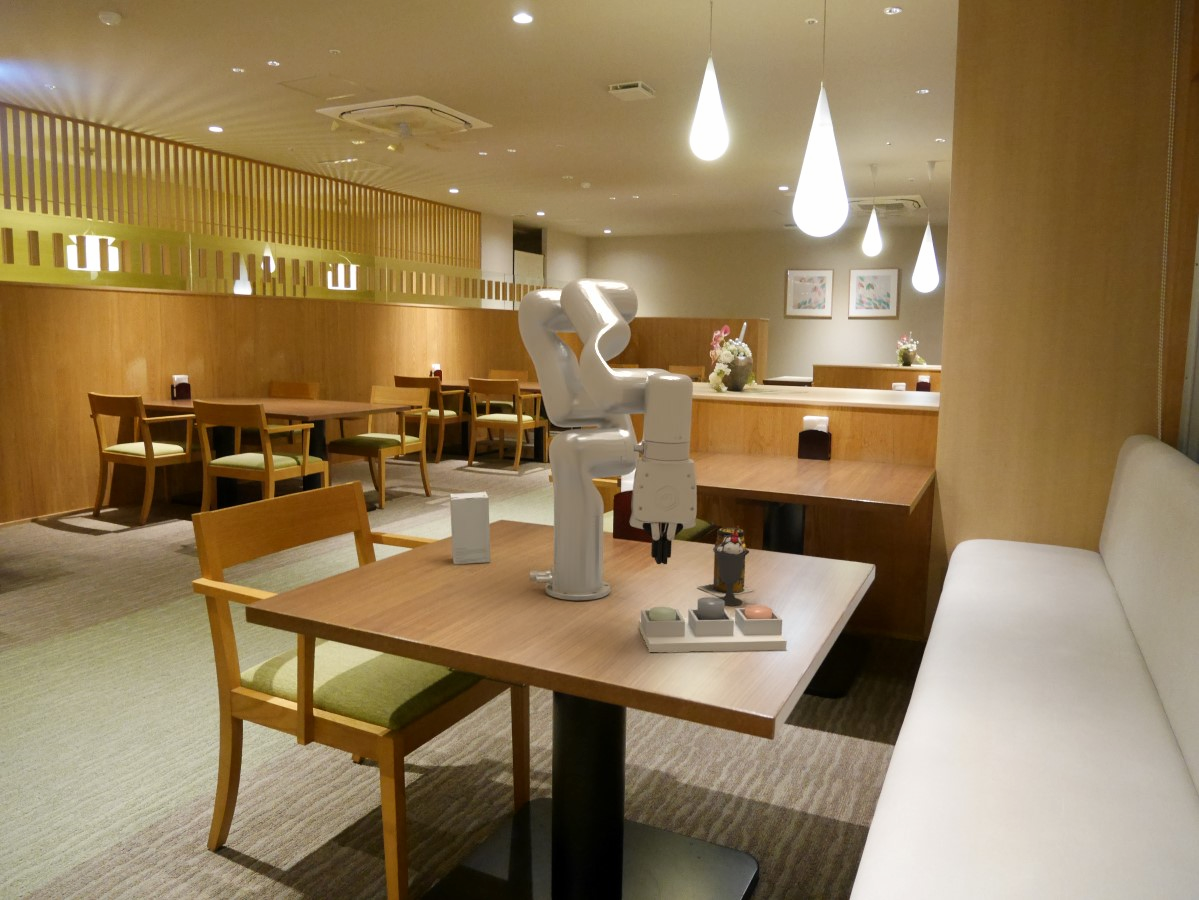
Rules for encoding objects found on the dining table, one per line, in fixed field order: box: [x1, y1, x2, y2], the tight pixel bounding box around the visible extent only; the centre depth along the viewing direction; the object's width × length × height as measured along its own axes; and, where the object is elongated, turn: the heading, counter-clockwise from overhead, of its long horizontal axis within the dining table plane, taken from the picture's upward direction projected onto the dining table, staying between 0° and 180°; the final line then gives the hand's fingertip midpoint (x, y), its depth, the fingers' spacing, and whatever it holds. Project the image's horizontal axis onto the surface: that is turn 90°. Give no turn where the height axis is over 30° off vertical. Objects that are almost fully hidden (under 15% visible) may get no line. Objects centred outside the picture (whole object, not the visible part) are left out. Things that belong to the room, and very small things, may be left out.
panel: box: [638, 607, 788, 653], centre depth 142 cm, size 22×12×4 cm, turn 95°
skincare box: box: [449, 491, 492, 566], centre depth 187 cm, size 8×6×15 cm
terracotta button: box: [744, 604, 773, 619], centre depth 142 cm, size 4×4×3 cm
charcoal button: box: [696, 596, 726, 620], centre depth 141 cm, size 4×4×3 cm
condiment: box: [697, 527, 754, 598], centre depth 169 cm, size 7×8×12 cm
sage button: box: [648, 606, 676, 621], centre depth 141 cm, size 4×4×3 cm
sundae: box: [712, 525, 750, 607], centre depth 160 cm, size 7×7×15 cm
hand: (660, 561), depth 140 cm, fingers closed
